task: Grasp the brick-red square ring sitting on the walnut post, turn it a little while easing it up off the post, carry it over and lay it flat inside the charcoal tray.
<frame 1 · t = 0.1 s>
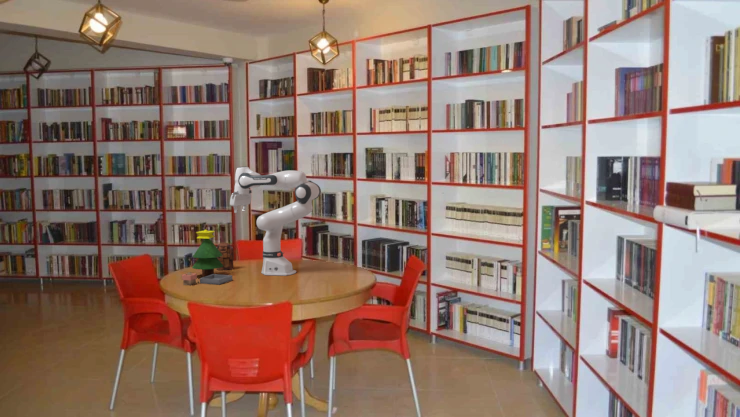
hand: (239, 212, 396), 39 cm above the table, tool pointing down, fingers open, 8 cm apart
decorative tree: (208, 276, 381), on the table
ring: (189, 279, 357), point 3 cm above the table, touching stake
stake: (189, 284, 357), on the table
wooden figurine: (225, 269, 404), on the table
tray: (216, 281, 364), on the table
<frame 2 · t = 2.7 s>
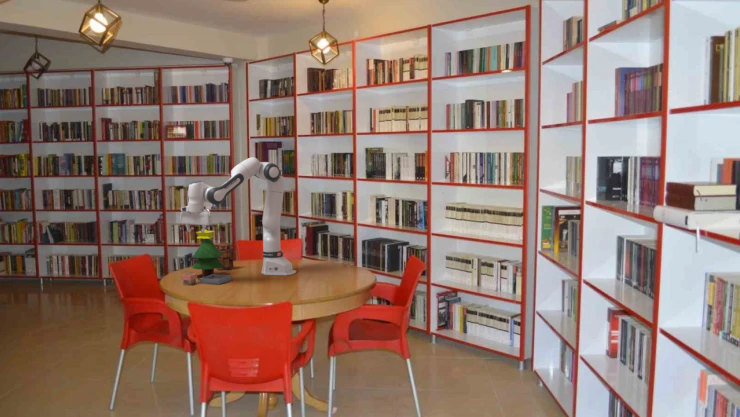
hand: (195, 231, 357), 31 cm above the table, tool pointing down, fingers open, 8 cm apart
nothing on the table moved.
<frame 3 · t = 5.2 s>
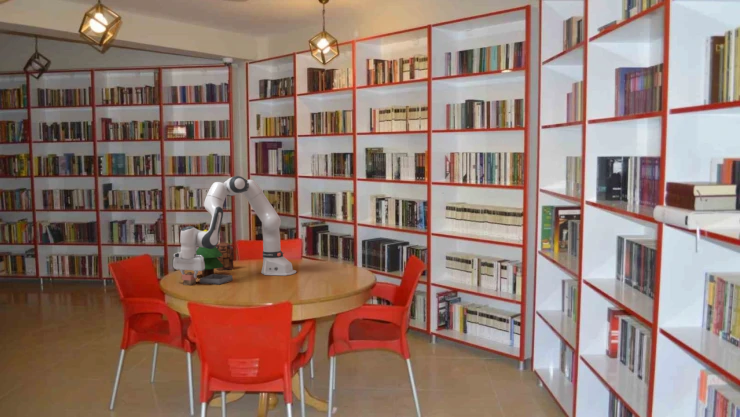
hand: (189, 277, 357), 4 cm above the table, tool pointing down, fingers closed on ring, 6 cm apart
ring: (189, 279, 357), point 3 cm above the table, touching gripper, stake
everything else where it was.
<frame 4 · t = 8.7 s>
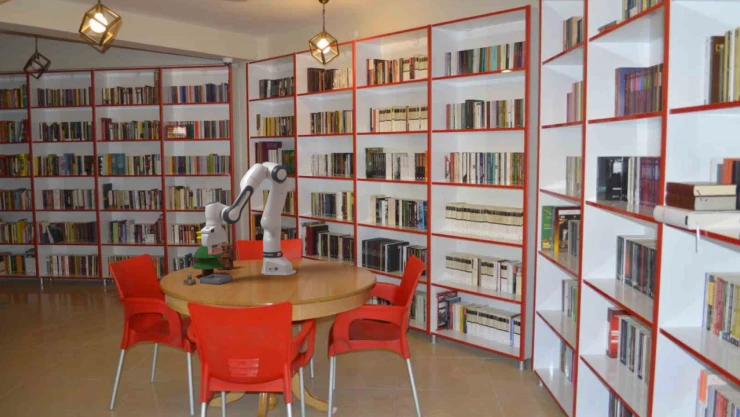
hand: (215, 251, 363), 18 cm above the table, tool pointing down, fingers closed on ring, 6 cm apart
ring: (215, 253, 363), point 17 cm above the table, touching gripper
everything else where it was.
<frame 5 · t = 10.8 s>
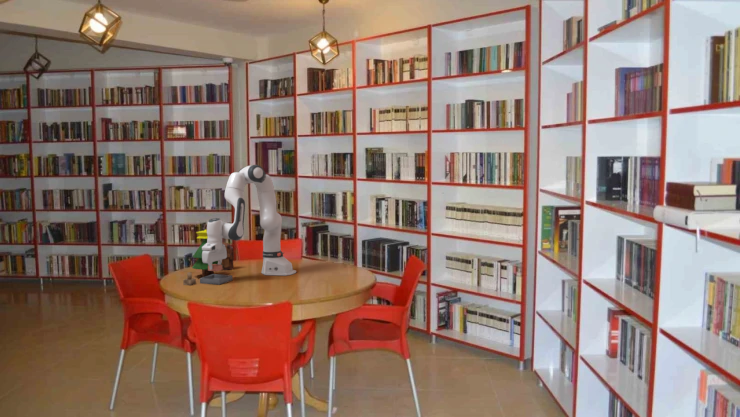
hand: (215, 268, 363), 8 cm above the table, tool pointing down, fingers closed on ring, 6 cm apart
ring: (215, 270, 363), point 7 cm above the table, touching gripper
everything else where it was.
when the fingers open (4 cm above the table, at t = 12.3 s): ring drops 2 cm, resting on tray.
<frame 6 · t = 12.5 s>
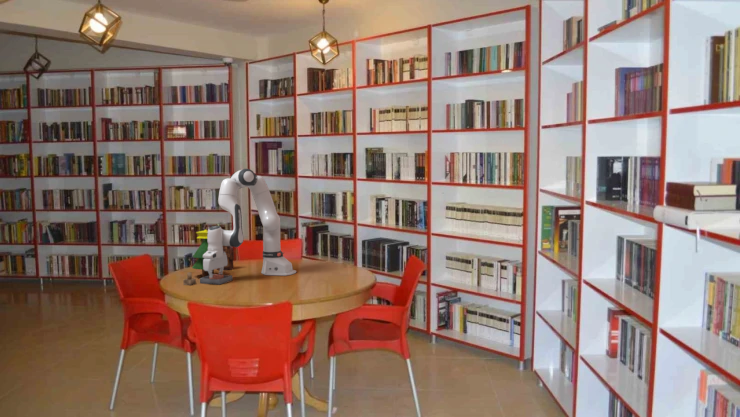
hand: (216, 275, 364), 4 cm above the table, tool pointing down, fingers open, 8 cm apart
ring: (216, 280, 364), point 1 cm above the table, touching tray
everything else where it was.
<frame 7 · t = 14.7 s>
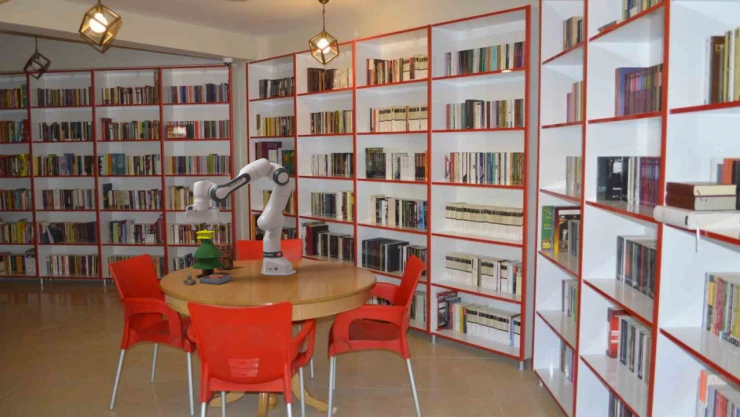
hand: (202, 230, 358), 32 cm above the table, tool pointing down, fingers open, 8 cm apart
nothing on the table moved.
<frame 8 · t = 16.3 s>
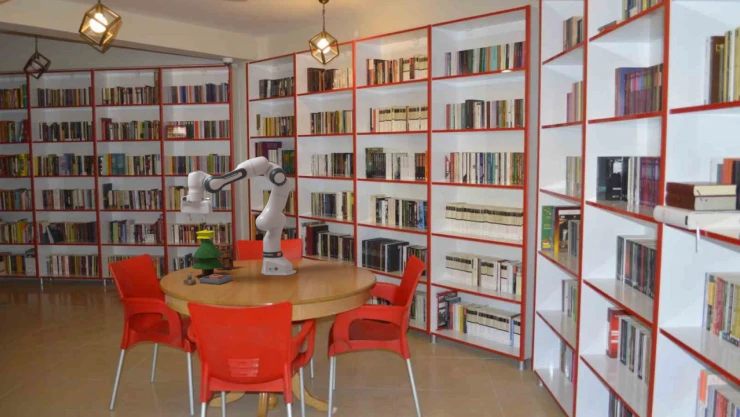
hand: (197, 221, 358), 37 cm above the table, tool pointing down, fingers open, 8 cm apart
nothing on the table moved.
at the end: ring inside the target area on the tray (0.1 cm from its centre), point 0.8 cm above the tray's base; ring tilted 0°; the gripper is holding nothing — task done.
